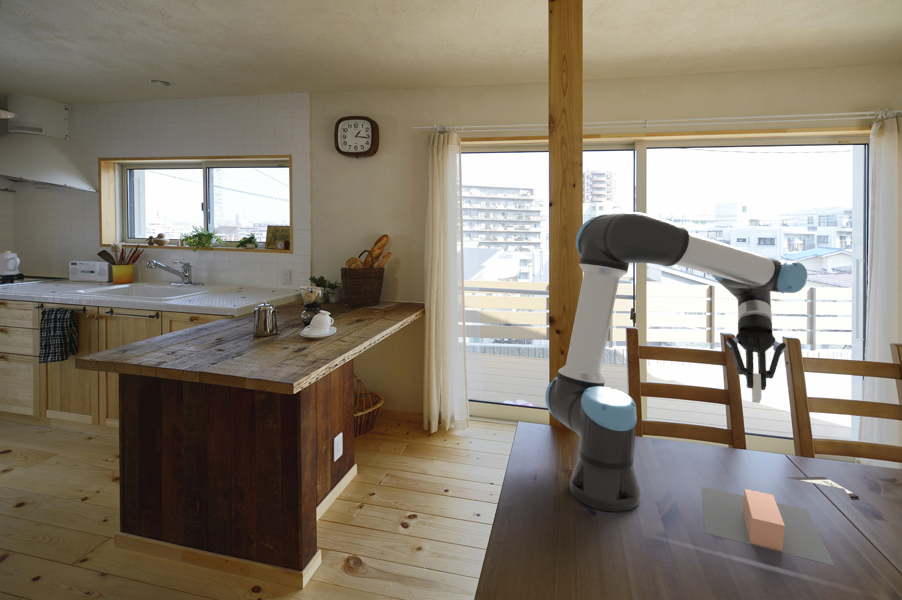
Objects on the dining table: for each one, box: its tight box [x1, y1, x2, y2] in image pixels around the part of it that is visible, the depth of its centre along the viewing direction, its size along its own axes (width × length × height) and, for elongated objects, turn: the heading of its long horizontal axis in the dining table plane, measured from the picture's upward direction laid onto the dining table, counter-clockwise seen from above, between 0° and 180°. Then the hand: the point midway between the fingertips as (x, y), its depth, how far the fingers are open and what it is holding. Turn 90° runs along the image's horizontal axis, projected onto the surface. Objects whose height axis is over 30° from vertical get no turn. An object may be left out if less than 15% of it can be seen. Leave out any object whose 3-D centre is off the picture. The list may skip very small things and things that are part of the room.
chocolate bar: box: [788, 476, 859, 500], centre depth 108 cm, size 9×1×18 cm
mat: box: [700, 486, 835, 567], centre depth 94 cm, size 20×20×1 cm
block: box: [743, 488, 785, 551], centre depth 91 cm, size 5×5×12 cm
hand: (756, 399), depth 108 cm, fingers closed
